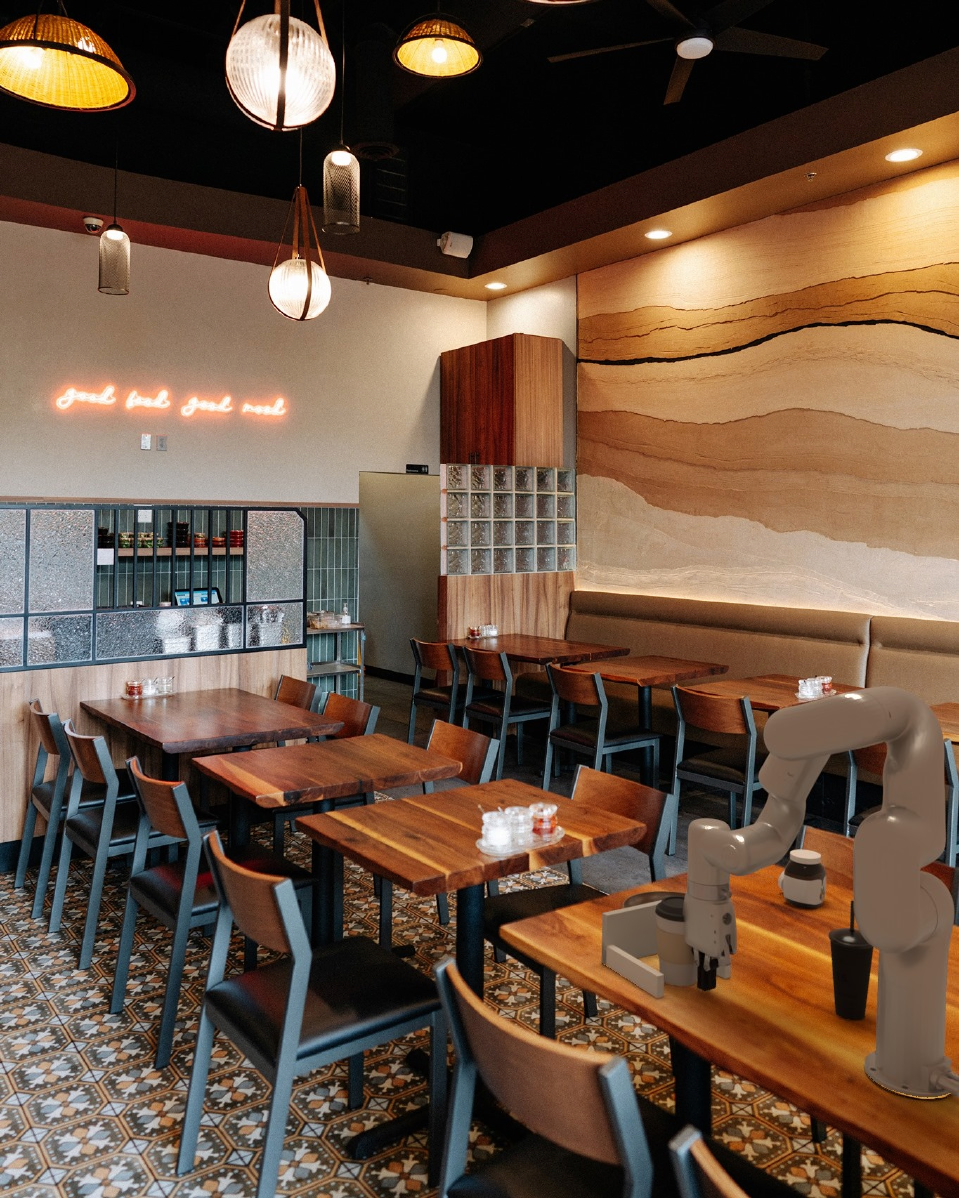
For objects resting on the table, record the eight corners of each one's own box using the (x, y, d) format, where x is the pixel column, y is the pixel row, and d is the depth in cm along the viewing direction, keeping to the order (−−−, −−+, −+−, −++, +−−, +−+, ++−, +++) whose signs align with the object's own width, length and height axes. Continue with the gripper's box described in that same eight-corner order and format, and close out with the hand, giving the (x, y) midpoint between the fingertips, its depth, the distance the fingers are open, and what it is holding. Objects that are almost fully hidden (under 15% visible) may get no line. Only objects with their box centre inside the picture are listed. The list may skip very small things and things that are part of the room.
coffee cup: (644, 972, 178) (645, 895, 177) (682, 964, 182) (683, 888, 181) (673, 992, 170) (675, 911, 169) (713, 983, 174) (714, 904, 173)
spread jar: (809, 913, 209) (810, 862, 209) (763, 899, 218) (764, 850, 217) (834, 900, 217) (835, 851, 217) (790, 888, 226) (791, 840, 225)
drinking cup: (834, 999, 168) (837, 890, 167) (879, 1012, 163) (882, 900, 162) (820, 1015, 162) (823, 901, 161) (865, 1029, 157) (868, 912, 156)
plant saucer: (603, 920, 204) (603, 905, 204) (656, 897, 219) (657, 883, 219) (684, 948, 190) (685, 932, 190) (736, 921, 205) (736, 906, 205)
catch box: (730, 977, 176) (731, 925, 176) (657, 998, 167) (658, 943, 167) (672, 945, 191) (673, 897, 190) (601, 963, 182) (602, 912, 181)
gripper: (754, 898, 164) (752, 1000, 164) (695, 873, 177) (693, 968, 177) (722, 905, 160) (720, 1010, 161) (664, 879, 173) (663, 976, 174)
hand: (706, 988), depth 169 cm, fingers closed
